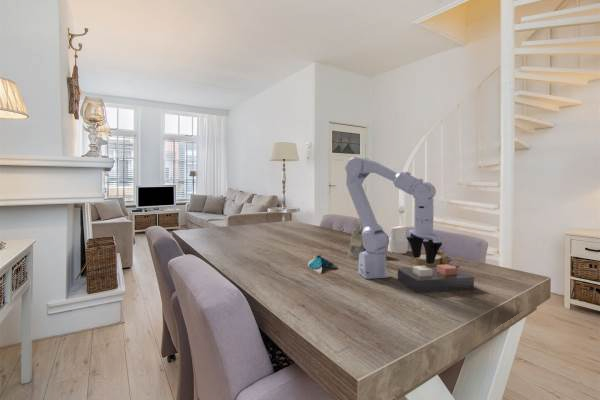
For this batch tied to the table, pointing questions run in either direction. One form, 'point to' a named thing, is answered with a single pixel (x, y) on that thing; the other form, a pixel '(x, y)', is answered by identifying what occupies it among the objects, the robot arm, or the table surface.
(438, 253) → the alarm clock
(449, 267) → the red key
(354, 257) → the ceramic cottage
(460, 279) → the grey flat block
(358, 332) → the table surface
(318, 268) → the decorative butterfly
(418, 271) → the cream key
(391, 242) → the cream upright block
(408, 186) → the robot arm
